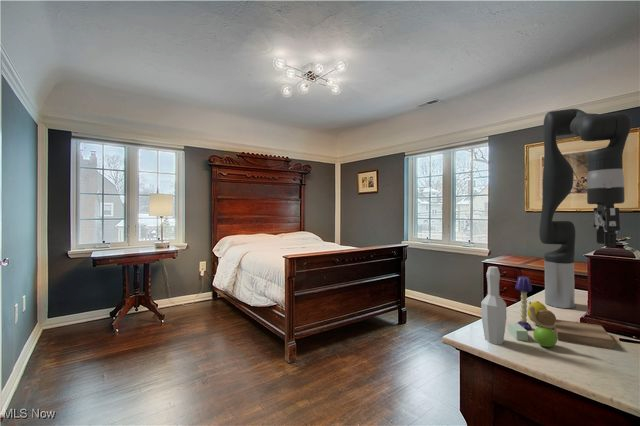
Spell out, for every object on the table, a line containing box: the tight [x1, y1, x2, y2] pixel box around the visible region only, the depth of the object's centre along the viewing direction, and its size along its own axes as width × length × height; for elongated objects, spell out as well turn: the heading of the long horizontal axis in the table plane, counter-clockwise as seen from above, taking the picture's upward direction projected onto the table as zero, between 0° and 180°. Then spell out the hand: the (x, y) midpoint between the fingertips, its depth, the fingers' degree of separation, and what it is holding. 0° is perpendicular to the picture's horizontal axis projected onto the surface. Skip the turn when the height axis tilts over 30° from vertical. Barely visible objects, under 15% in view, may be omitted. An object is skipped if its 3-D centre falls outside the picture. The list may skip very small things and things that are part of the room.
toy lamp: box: [514, 275, 533, 331], centre depth 98 cm, size 5×5×17 cm
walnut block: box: [552, 318, 614, 350], centre depth 91 cm, size 12×12×3 cm
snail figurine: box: [528, 301, 558, 348], centre depth 86 cm, size 5×6×12 cm
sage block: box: [507, 322, 529, 342], centre depth 93 cm, size 6×3×3 cm, turn 170°
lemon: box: [527, 300, 548, 326], centre depth 100 cm, size 6×6×8 cm
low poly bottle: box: [480, 266, 507, 345], centre depth 90 cm, size 6×6×22 cm
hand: (606, 245), depth 84 cm, fingers open, 8 cm apart
